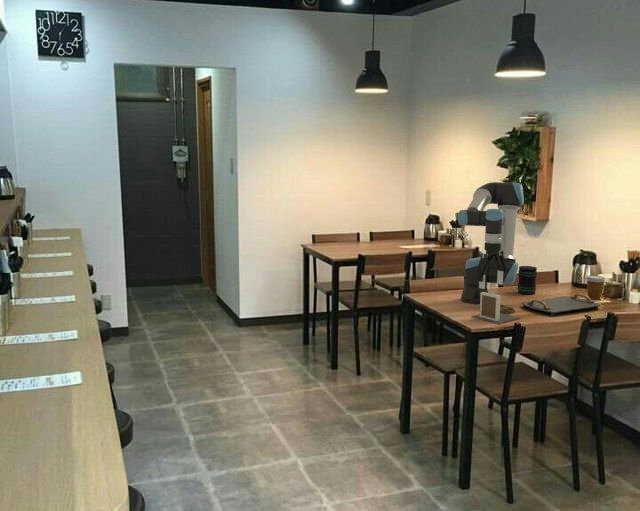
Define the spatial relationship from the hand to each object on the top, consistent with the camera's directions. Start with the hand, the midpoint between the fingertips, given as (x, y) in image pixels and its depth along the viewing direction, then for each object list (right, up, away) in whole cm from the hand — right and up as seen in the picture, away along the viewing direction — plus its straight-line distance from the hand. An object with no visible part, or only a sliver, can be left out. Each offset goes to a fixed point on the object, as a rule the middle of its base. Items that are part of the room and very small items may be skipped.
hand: (490, 286), depth 298 cm
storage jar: (+36, -7, +59) cm, 70 cm away
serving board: (+43, -13, +25) cm, 51 cm away
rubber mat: (+4, -16, +5) cm, 17 cm away
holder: (+9, -13, +20) cm, 25 cm away
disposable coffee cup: (+70, -9, +47) cm, 85 cm away
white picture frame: (0, -16, +2) cm, 16 cm away
